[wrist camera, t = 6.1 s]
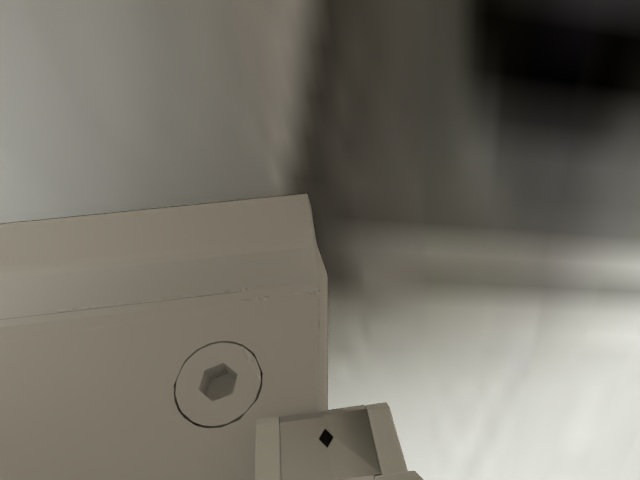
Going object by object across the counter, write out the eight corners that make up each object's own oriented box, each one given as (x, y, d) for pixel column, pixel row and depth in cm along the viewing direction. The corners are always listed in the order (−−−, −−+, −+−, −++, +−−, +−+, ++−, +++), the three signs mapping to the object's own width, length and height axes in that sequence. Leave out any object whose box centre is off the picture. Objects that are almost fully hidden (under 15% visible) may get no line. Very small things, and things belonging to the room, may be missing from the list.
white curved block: (320, 191, 13) (394, 639, 7) (323, 279, 17) (372, 620, 11) (-273, 250, 12) (-817, 832, 6) (-132, 329, 16) (-373, 737, 10)
